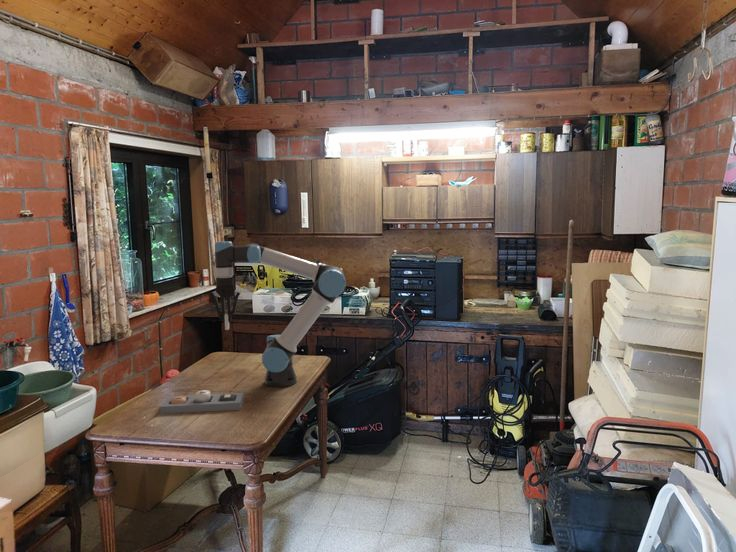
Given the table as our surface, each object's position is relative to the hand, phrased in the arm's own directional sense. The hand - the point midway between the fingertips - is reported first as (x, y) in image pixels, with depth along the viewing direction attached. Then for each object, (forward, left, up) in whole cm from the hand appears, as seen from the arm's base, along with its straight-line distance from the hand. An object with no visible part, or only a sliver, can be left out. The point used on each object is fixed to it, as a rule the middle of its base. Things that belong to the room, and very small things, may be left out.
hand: (227, 329), depth 238 cm
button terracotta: (+19, +15, -29) cm, 38 cm away
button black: (-1, +15, -29) cm, 33 cm away
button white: (+9, +15, -27) cm, 32 cm away
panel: (+9, +15, -29) cm, 34 cm away
